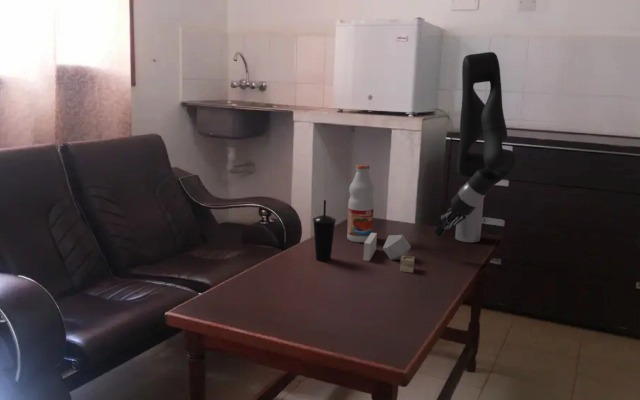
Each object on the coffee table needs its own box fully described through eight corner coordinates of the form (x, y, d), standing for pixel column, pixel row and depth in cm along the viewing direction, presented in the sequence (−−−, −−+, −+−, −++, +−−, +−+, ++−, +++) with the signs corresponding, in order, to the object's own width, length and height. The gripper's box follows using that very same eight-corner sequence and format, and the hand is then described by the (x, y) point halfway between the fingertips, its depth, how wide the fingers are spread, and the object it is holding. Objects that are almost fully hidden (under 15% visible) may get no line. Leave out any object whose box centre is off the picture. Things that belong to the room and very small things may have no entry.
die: (406, 265, 201) (418, 240, 204) (383, 252, 200) (396, 227, 203) (396, 266, 209) (408, 242, 212) (375, 254, 208) (387, 229, 211)
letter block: (401, 267, 197) (402, 255, 196) (413, 268, 196) (414, 256, 196) (399, 271, 193) (400, 259, 193) (412, 272, 193) (413, 260, 192)
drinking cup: (307, 260, 202) (308, 200, 198) (318, 254, 208) (320, 196, 204) (328, 264, 198) (330, 203, 194) (338, 258, 205) (340, 199, 201)
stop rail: (370, 249, 216) (371, 232, 215) (376, 249, 216) (376, 233, 215) (363, 260, 203) (364, 243, 202) (369, 261, 203) (370, 243, 201)
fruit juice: (363, 235, 235) (366, 162, 229) (377, 241, 226) (380, 166, 221) (342, 237, 230) (344, 163, 224) (355, 244, 222) (358, 167, 216)
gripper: (472, 189, 204) (442, 225, 213) (449, 190, 195) (419, 227, 204) (487, 205, 200) (455, 241, 209) (464, 206, 191) (432, 244, 200)
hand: (437, 234), depth 206 cm, fingers closed
